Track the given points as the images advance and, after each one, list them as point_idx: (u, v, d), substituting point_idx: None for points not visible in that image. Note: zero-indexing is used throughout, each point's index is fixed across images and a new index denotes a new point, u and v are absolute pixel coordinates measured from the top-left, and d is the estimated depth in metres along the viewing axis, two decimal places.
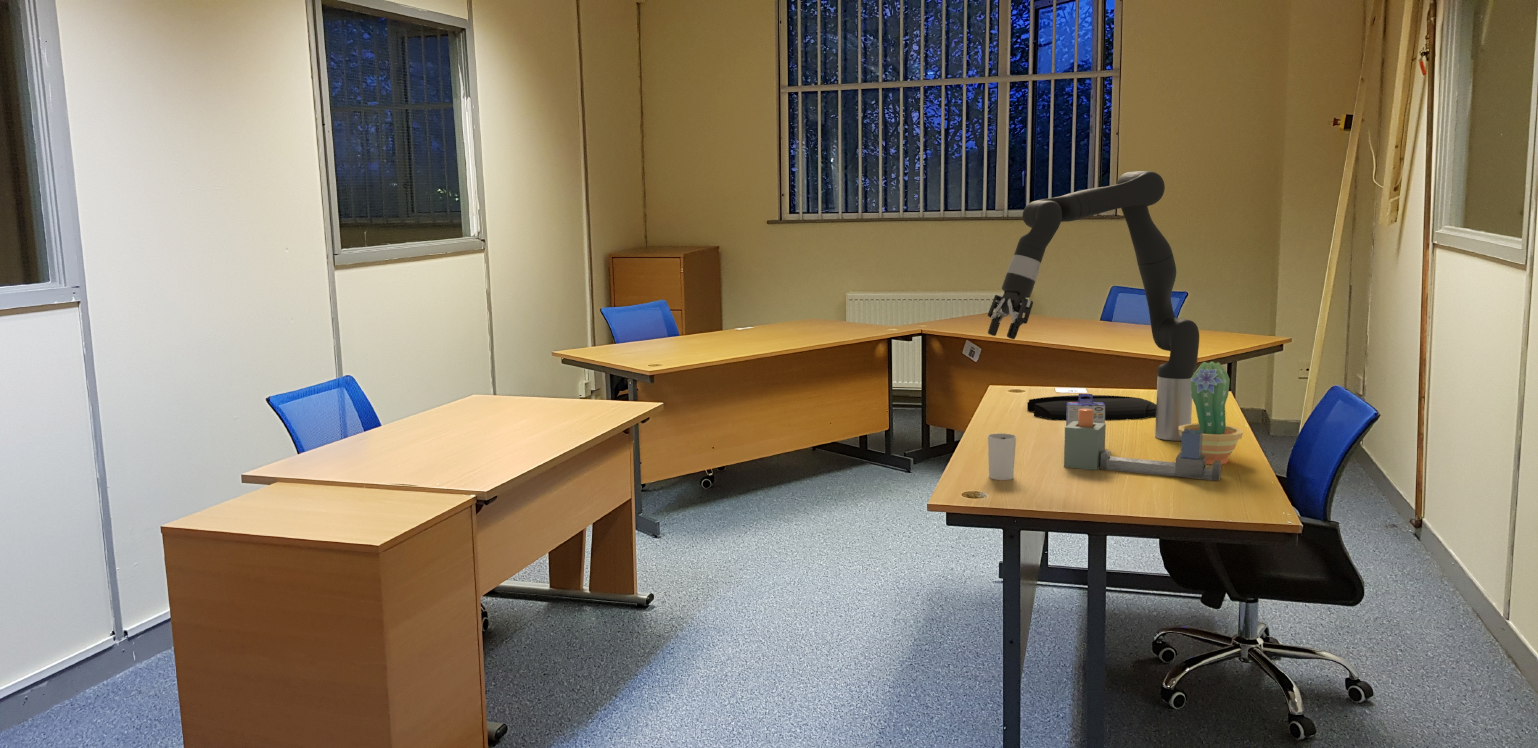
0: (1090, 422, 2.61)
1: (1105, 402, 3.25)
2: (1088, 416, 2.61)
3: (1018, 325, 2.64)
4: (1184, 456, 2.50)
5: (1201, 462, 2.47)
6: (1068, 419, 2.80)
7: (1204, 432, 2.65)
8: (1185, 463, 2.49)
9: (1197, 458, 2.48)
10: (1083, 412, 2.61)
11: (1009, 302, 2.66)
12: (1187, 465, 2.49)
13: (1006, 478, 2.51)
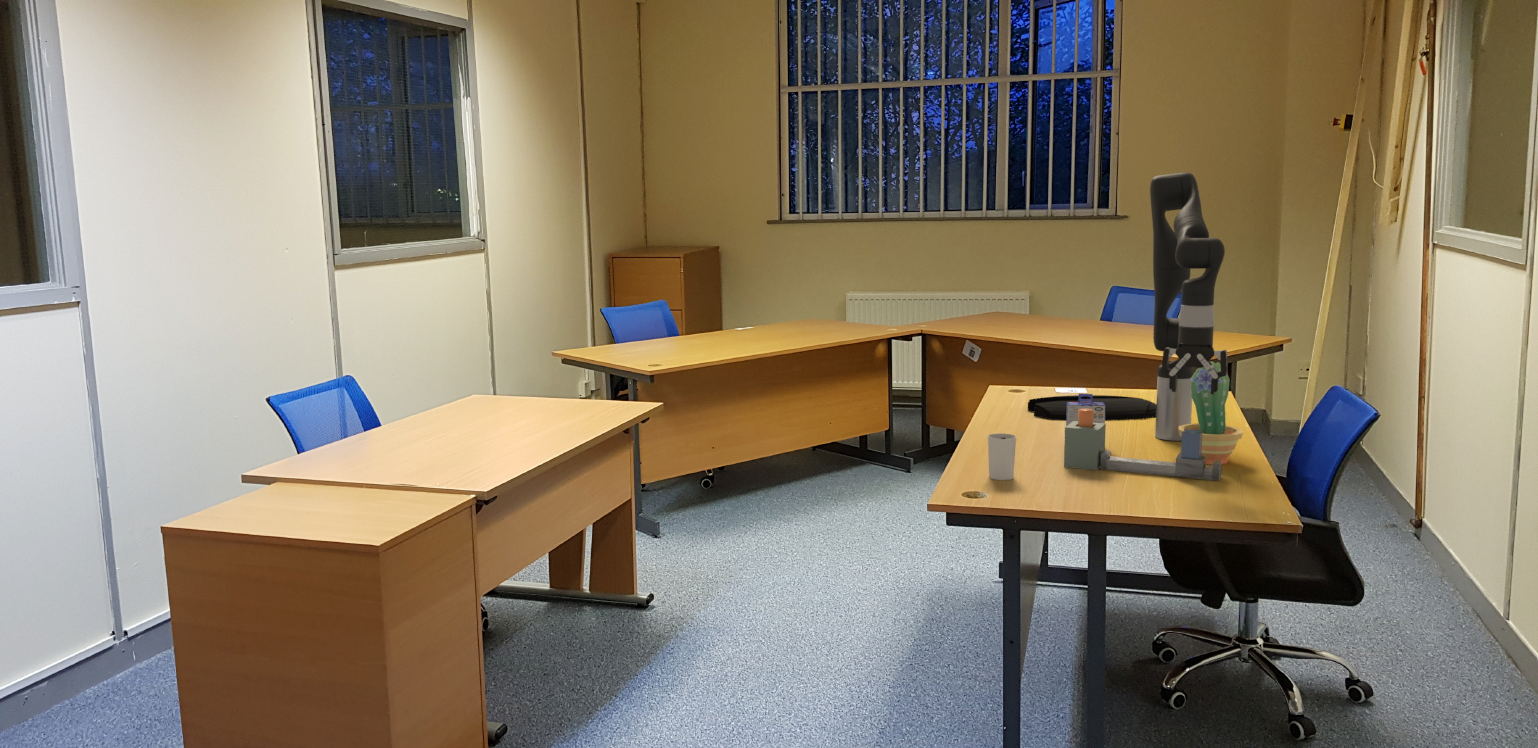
0: (1090, 422, 2.61)
1: (1105, 402, 3.25)
2: (1088, 416, 2.61)
3: (1218, 378, 2.46)
4: (1184, 456, 2.50)
5: (1201, 462, 2.47)
6: (1068, 419, 2.80)
7: (1204, 432, 2.65)
8: (1185, 463, 2.49)
9: (1197, 458, 2.48)
10: (1083, 412, 2.61)
11: (1201, 357, 2.45)
12: (1187, 465, 2.49)
13: (1006, 478, 2.51)
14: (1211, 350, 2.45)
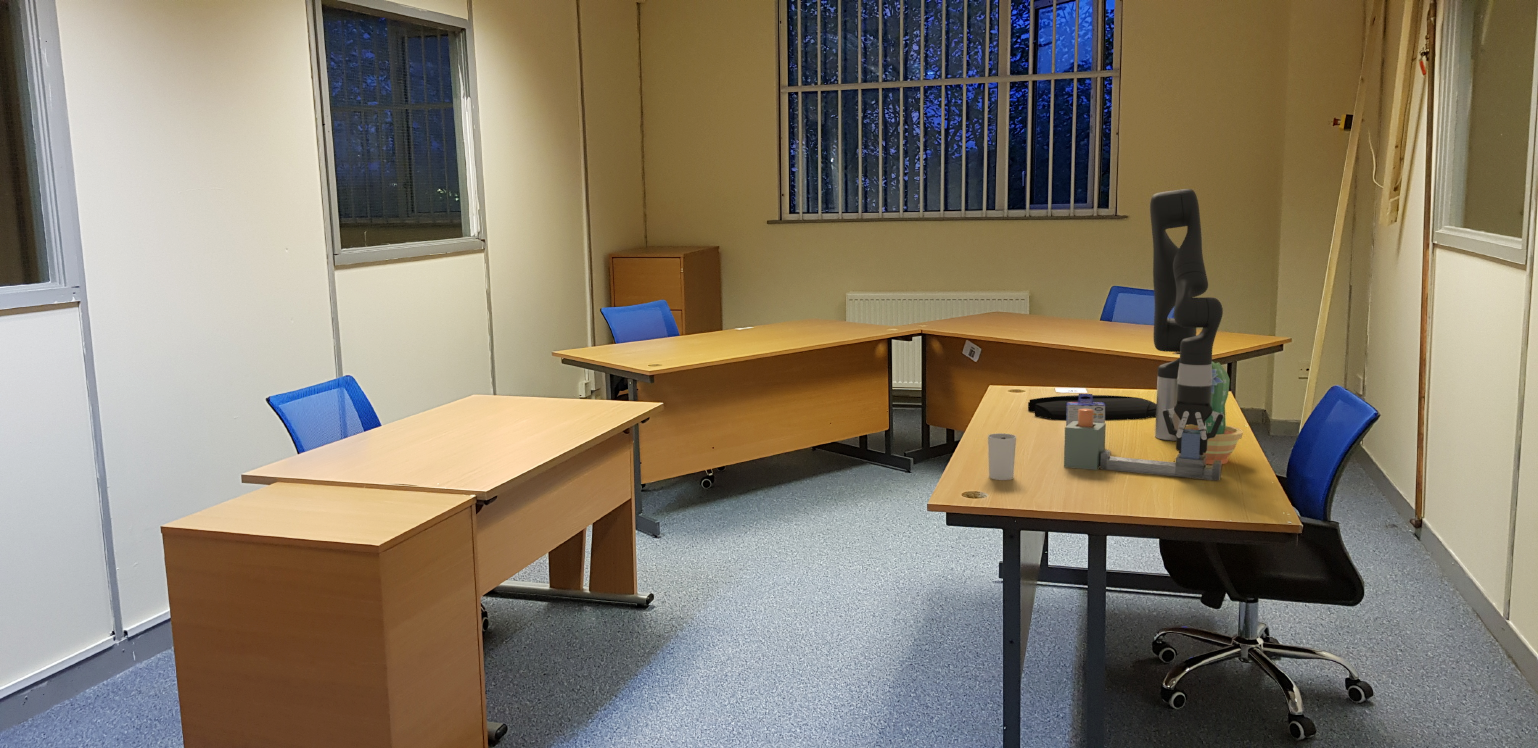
0: (1090, 422, 2.61)
1: (1106, 402, 3.25)
2: (1088, 416, 2.61)
3: (1207, 439, 2.49)
4: (1184, 456, 2.50)
5: (1201, 462, 2.47)
6: (1068, 419, 2.80)
7: None
8: (1185, 463, 2.49)
9: (1197, 458, 2.48)
10: (1083, 412, 2.61)
11: (1198, 416, 2.47)
12: (1187, 465, 2.49)
13: (1006, 478, 2.51)
14: (1210, 410, 2.47)
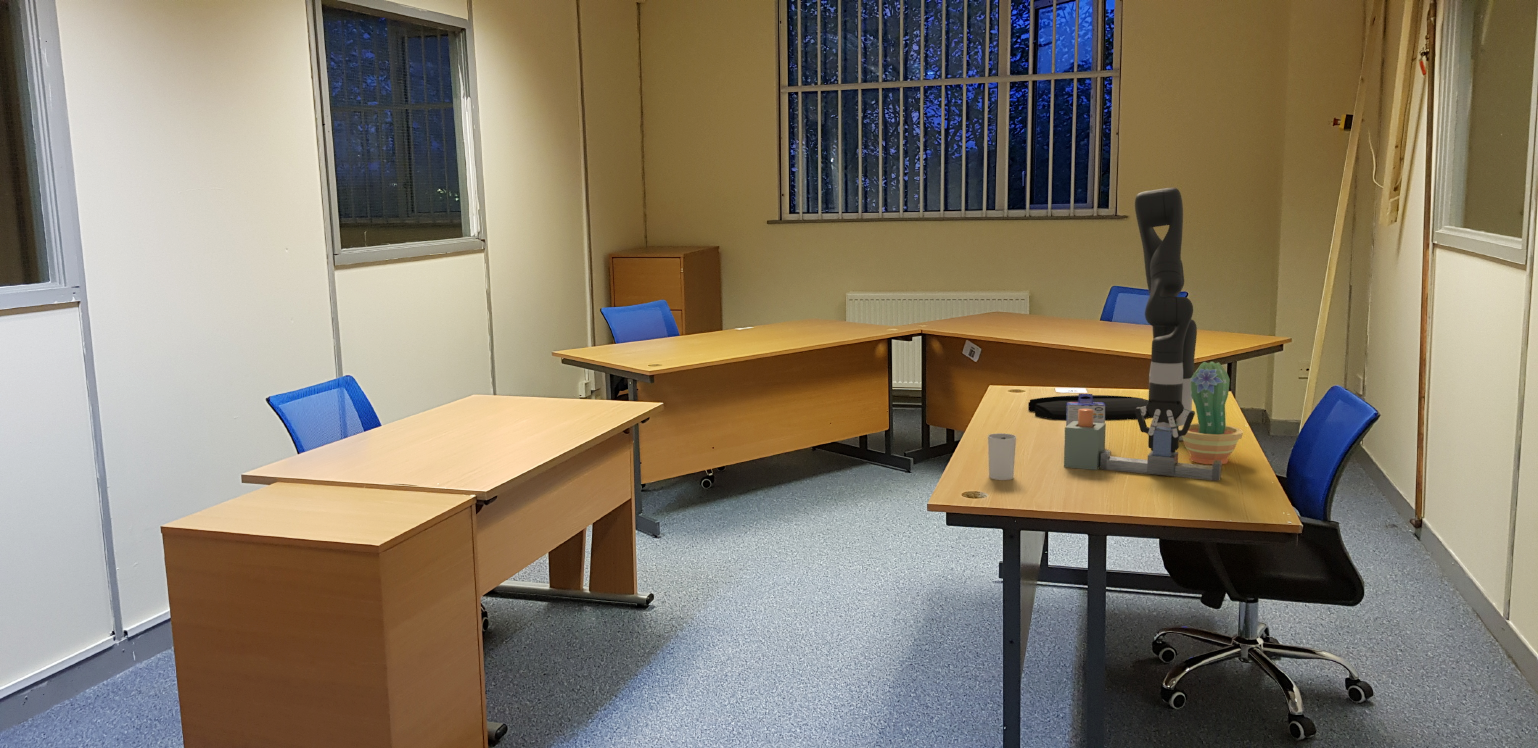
0: (1090, 422, 2.61)
1: (1106, 402, 3.25)
2: (1088, 416, 2.61)
3: (1179, 437, 2.52)
4: (1156, 453, 2.53)
5: (1172, 459, 2.50)
6: (1068, 419, 2.80)
7: (1204, 432, 2.65)
8: (1157, 460, 2.52)
9: (1168, 455, 2.51)
10: (1083, 412, 2.61)
11: (1170, 414, 2.50)
12: (1158, 462, 2.52)
13: (1006, 478, 2.51)
14: (1181, 407, 2.50)
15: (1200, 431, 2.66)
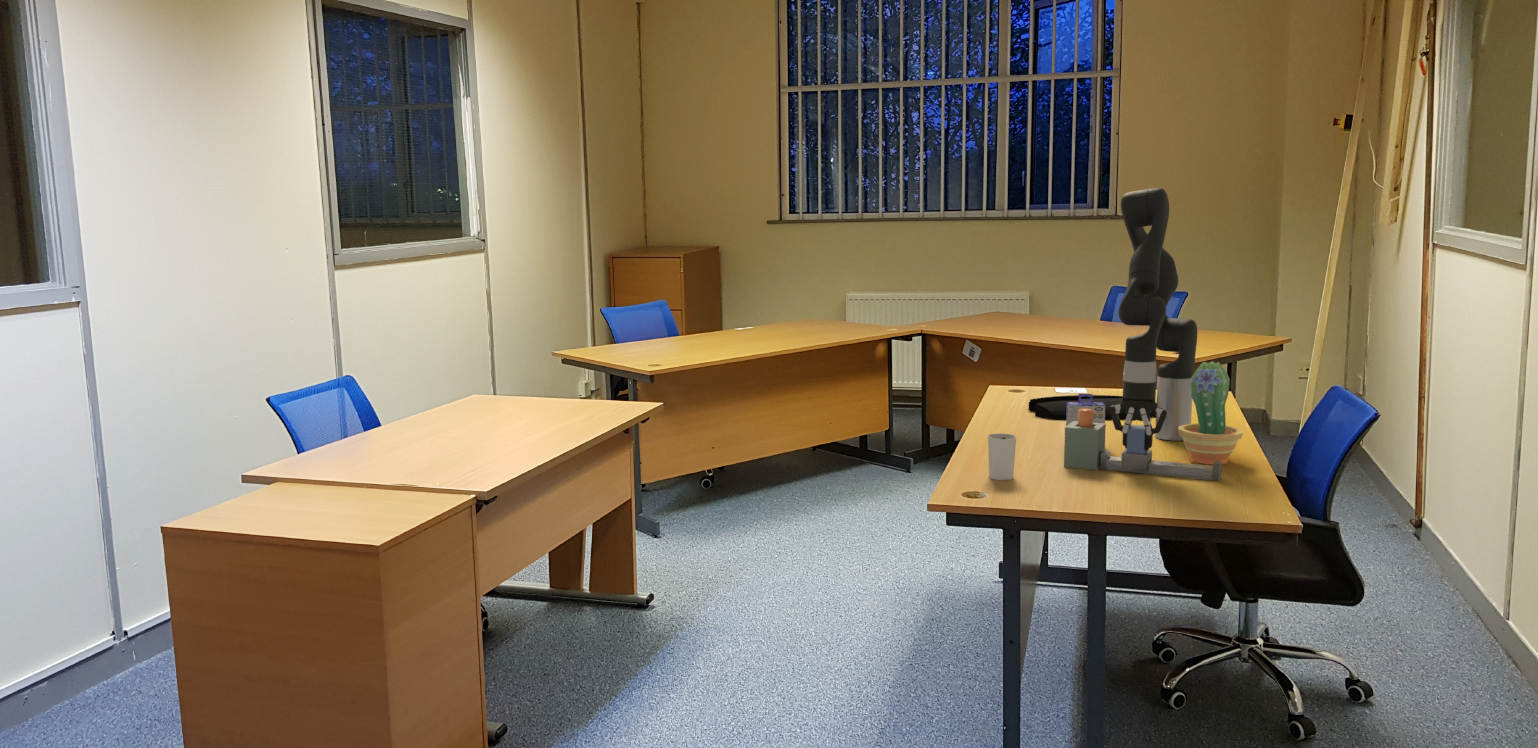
0: (1090, 422, 2.61)
1: (1106, 402, 3.25)
2: (1088, 416, 2.61)
3: (1152, 435, 2.55)
4: (1130, 451, 2.55)
5: (1146, 457, 2.53)
6: (1068, 419, 2.80)
7: (1204, 432, 2.65)
8: (1130, 458, 2.55)
9: (1142, 453, 2.54)
10: (1083, 412, 2.61)
11: (1143, 412, 2.53)
12: (1132, 460, 2.55)
13: (1006, 478, 2.51)
14: (1154, 406, 2.53)
15: (1200, 431, 2.66)
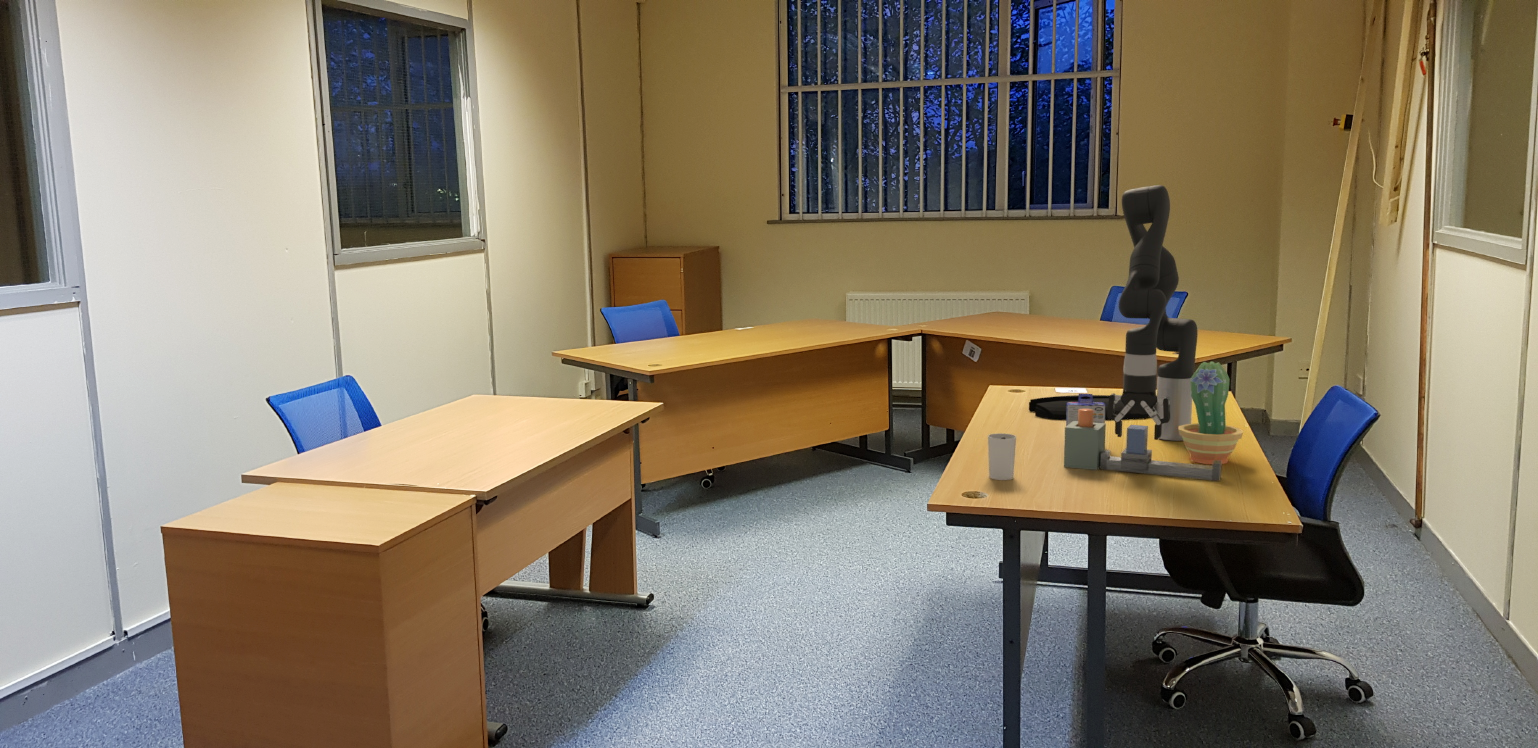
0: (1090, 422, 2.61)
1: (1106, 402, 3.25)
2: (1088, 416, 2.61)
3: (1161, 424, 2.54)
4: (1129, 451, 2.55)
5: (1145, 457, 2.53)
6: (1068, 419, 2.80)
7: (1204, 432, 2.65)
8: (1130, 458, 2.55)
9: (1142, 453, 2.54)
10: (1083, 412, 2.61)
11: (1144, 404, 2.53)
12: (1132, 459, 2.55)
13: (1006, 478, 2.51)
14: (1154, 397, 2.52)
15: (1200, 431, 2.66)
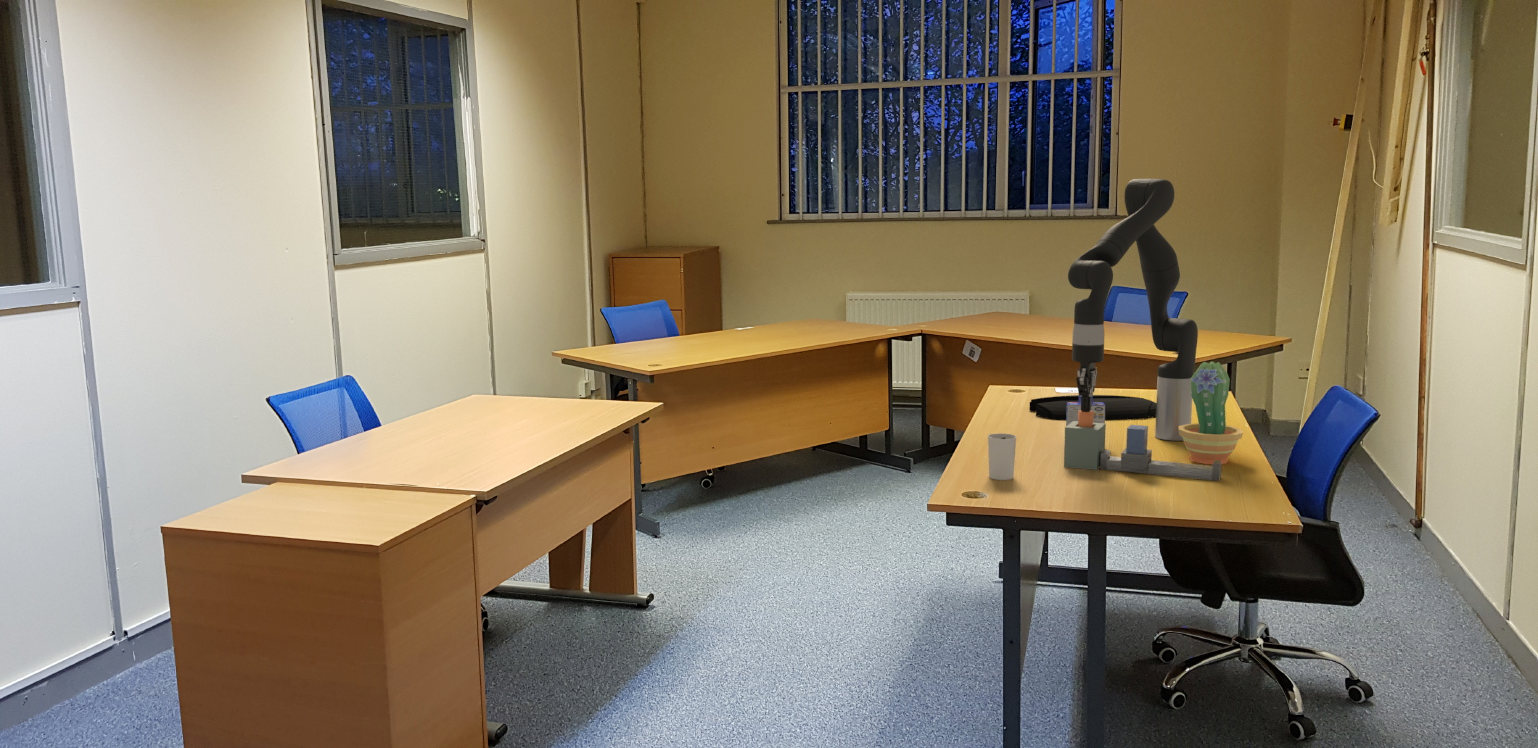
0: (1090, 424, 2.61)
1: (1107, 402, 3.25)
2: (1088, 418, 2.61)
3: (1086, 398, 2.61)
4: (1129, 451, 2.55)
5: (1145, 457, 2.53)
6: (1068, 419, 2.80)
7: (1204, 432, 2.65)
8: (1130, 458, 2.55)
9: (1142, 453, 2.54)
10: (1083, 413, 2.61)
11: None
12: (1132, 459, 2.55)
13: (1006, 478, 2.51)
14: (1079, 369, 2.58)
15: (1200, 431, 2.66)
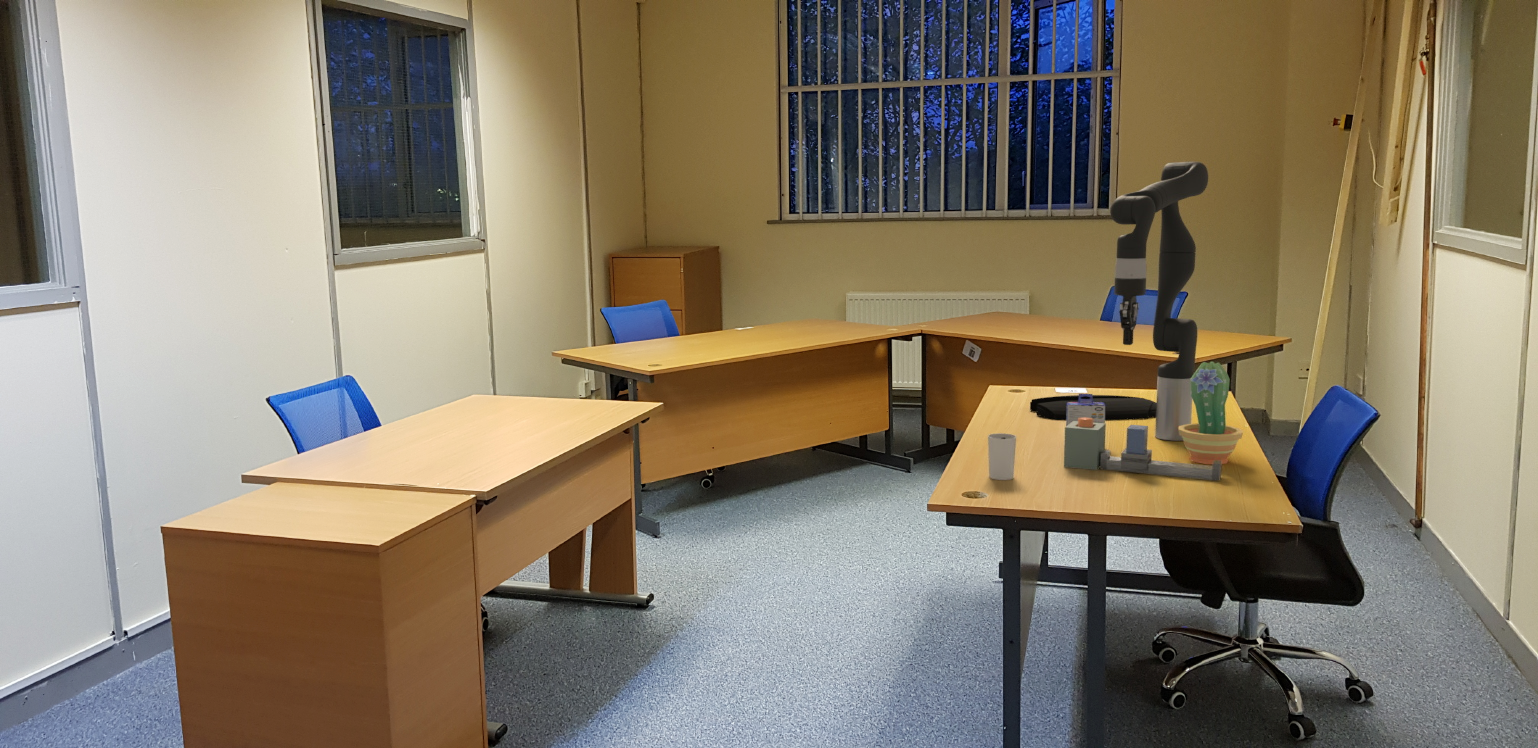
0: None
1: (1108, 402, 3.25)
2: (1088, 425, 2.61)
3: (1128, 331, 2.67)
4: (1129, 451, 2.55)
5: (1145, 457, 2.53)
6: (1068, 419, 2.80)
7: (1204, 432, 2.65)
8: (1130, 458, 2.55)
9: (1142, 453, 2.54)
10: (1083, 421, 2.62)
11: (1120, 307, 2.67)
12: (1132, 459, 2.55)
13: (1006, 478, 2.51)
14: (1122, 303, 2.64)
15: (1200, 431, 2.66)
